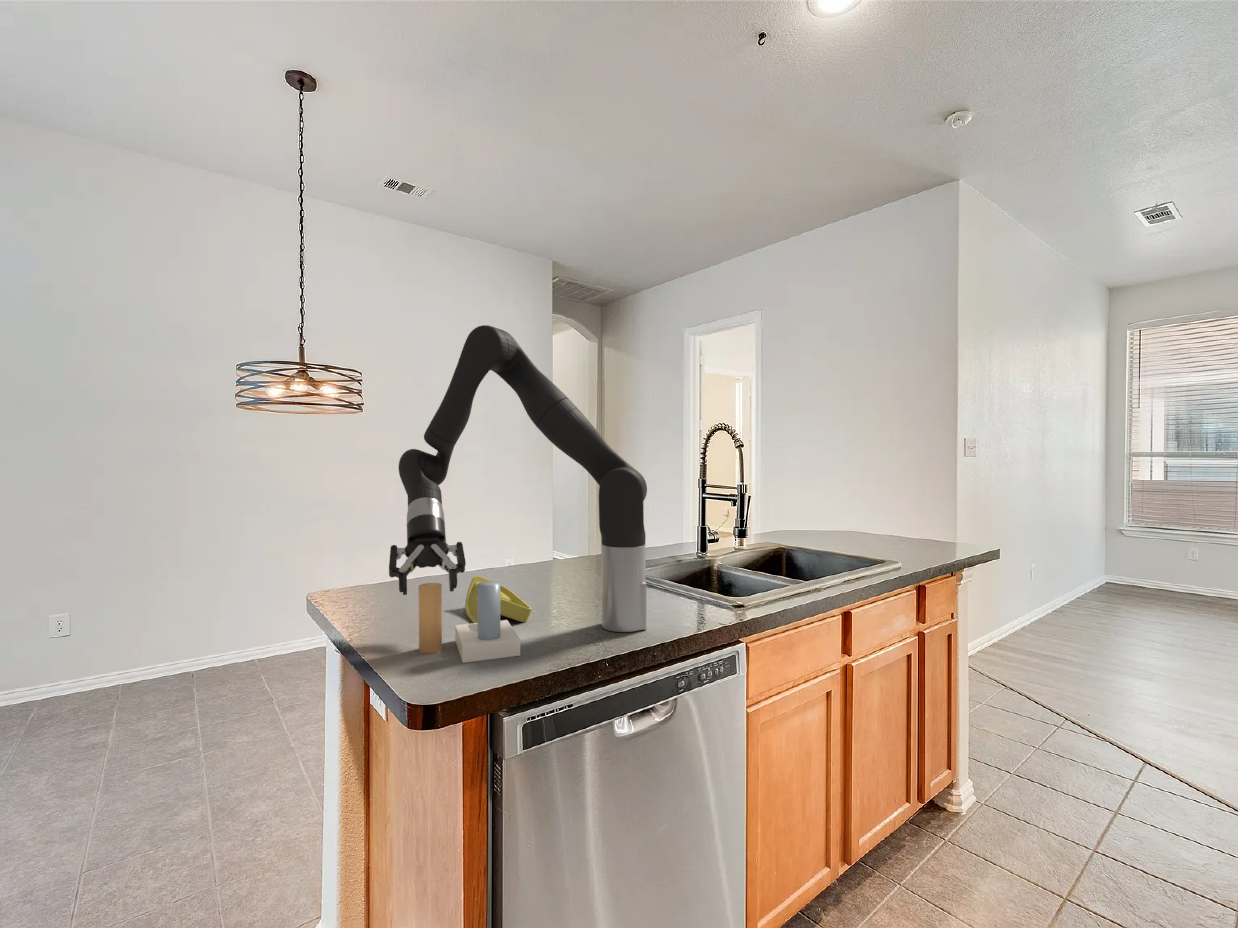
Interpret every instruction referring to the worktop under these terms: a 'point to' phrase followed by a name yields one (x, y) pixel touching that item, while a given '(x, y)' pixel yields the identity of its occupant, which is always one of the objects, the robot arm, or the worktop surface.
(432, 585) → the tan round-top capsule
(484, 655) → the housing
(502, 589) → the plastic component
